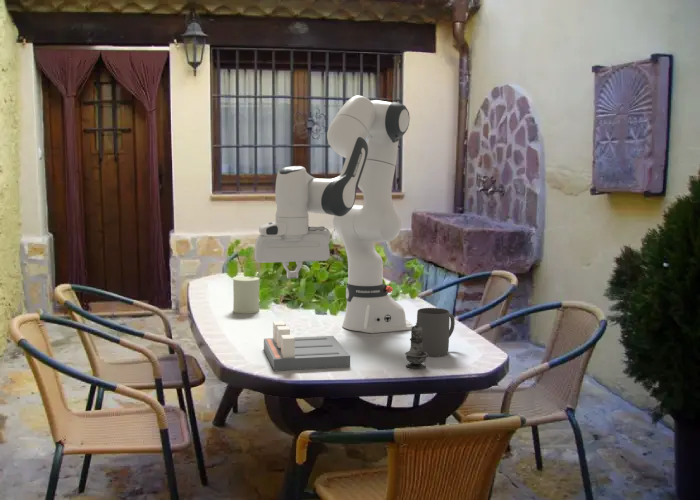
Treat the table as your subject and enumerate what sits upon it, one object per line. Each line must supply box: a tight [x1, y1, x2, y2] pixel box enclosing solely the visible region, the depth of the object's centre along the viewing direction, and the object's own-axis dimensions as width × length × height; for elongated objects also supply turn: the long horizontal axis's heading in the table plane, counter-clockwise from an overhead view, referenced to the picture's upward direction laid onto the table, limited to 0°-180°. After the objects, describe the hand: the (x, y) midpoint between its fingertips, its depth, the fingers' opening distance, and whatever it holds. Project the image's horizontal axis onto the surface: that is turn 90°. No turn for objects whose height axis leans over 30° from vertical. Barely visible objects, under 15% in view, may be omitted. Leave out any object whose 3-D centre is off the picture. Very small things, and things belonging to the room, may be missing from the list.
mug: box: [416, 307, 456, 358], centre depth 212 cm, size 14×9×12 cm
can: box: [232, 276, 260, 315], centre depth 263 cm, size 9×9×12 cm
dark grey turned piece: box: [404, 322, 428, 371], centre depth 196 cm, size 6×6×12 cm
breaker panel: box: [263, 320, 351, 371], centre depth 204 cm, size 20×22×8 cm
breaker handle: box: [277, 325, 291, 348], centre depth 202 cm, size 3×4×5 cm
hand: (292, 277), depth 204 cm, fingers closed
